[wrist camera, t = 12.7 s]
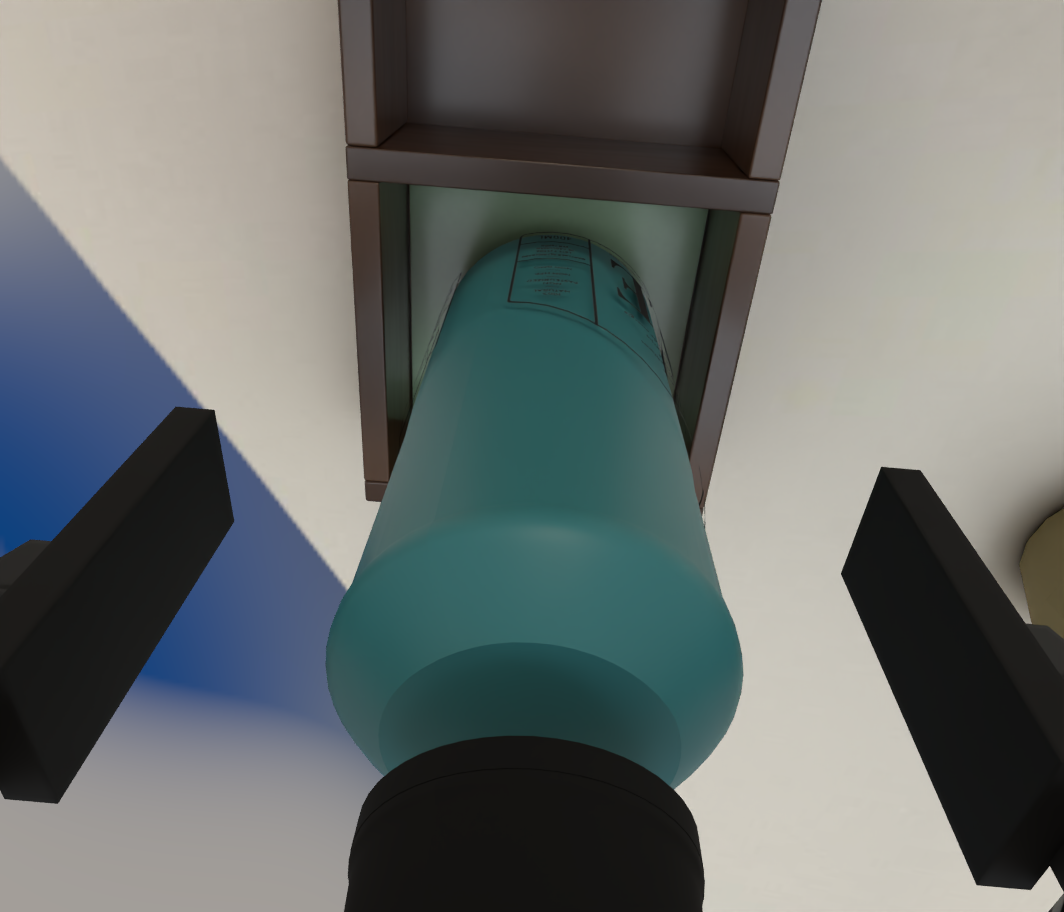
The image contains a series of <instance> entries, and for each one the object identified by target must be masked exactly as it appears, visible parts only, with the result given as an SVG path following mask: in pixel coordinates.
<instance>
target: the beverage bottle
mask: <svg viewBox="0 0 1064 912" xmlns="http://www.w3.org/2000/svg"><path fill="white" fill-rule="evenodd" d="M536 233H559V232H536ZM529 234H534V233H529ZM562 234H568V233H562ZM524 235H527V234H524ZM524 235H522V236H521V237H520V239H517V240H513V241H511V242H508V243H506V244H504V245H501V246H499V247H498V248H496V249H494V250H493V251H491V252H489V253H488V254H487V255H485V256H484V257H483V258H481V259H480V260H479V261H478V262H477V263H476V264H475V265H474V266H473V267H472V268H471V269H470V270H469V271H468V272H467V273H466V275H465V276H464V277H463V279H462V280H461V281H460V283H459V285H458V283H457V285H458V287H457V285H456V288H455V291H454V294H453V296H452V299H451V301H450V304H449V305H448V306H449V307H448V306H447V307H448V309H447V312H446V315H445V318H444V321H443V324H442V326H441V329H440V332H439V329H438V332H437V333H439V335H438V338H437V341H436V344H435V346H434V349H433V352H431V351H430V353H432V355H431V358H430V361H429V363H428V366H427V369H426V372H425V375H424V378H423V381H422V383H421V386H420V389H419V392H418V395H417V398H416V400H415V403H414V406H413V409H412V413H411V416H410V420H409V423H408V427H407V431H406V435H405V438H404V441H403V443H402V446H401V449H400V452H399V453H398V457H397V460H396V463H395V466H394V468H393V471H392V474H391V477H390V480H389V482H388V485H387V488H386V491H385V494H384V496H383V499H382V502H381V505H380V507H379V510H378V513H377V516H376V519H375V521H374V524H373V527H372V530H371V532H370V535H369V538H368V541H367V544H366V546H365V549H364V552H363V555H362V558H361V560H360V563H359V566H358V569H357V571H356V574H355V577H354V580H353V583H352V584H351V586H350V588H349V589H348V591H347V592H346V594H345V595H344V597H343V599H342V601H341V603H340V605H339V608H338V610H337V612H336V615H335V617H334V620H333V623H332V625H331V628H330V632H329V637H328V642H327V646H326V673H327V681H328V689H329V692H330V695H331V698H332V701H333V705H334V707H335V709H336V712H337V714H338V716H339V718H340V720H341V722H342V724H343V725H344V727H345V728H346V730H347V732H348V733H349V734H350V736H351V738H352V739H353V741H354V742H355V743H356V745H357V746H358V747H359V748H360V750H361V751H362V752H363V753H364V755H365V756H366V757H367V758H368V760H369V761H370V762H371V763H372V765H373V766H374V767H375V768H376V769H377V770H378V771H379V772H380V773H381V774H382V775H383V776H384V777H383V778H382V779H381V780H380V781H379V782H378V783H377V784H376V785H375V786H374V788H373V789H372V790H371V791H370V793H369V794H368V796H367V798H366V800H365V802H364V804H363V805H362V809H361V812H360V816H359V819H358V823H357V827H356V831H355V835H354V839H353V843H352V847H351V852H350V857H349V866H348V879H349V886H348V892H347V898H346V904H345V910H344V912H703V911H702V905H703V900H704V885H705V880H704V869H703V863H702V856H701V849H700V843H699V836H698V831H697V826H696V823H695V821H694V818H693V816H692V813H691V812H690V810H689V808H688V807H687V805H686V804H685V802H684V801H683V799H682V798H681V797H680V796H679V795H678V794H677V793H676V792H675V791H674V789H675V788H676V787H677V786H679V785H680V784H681V783H682V782H683V781H684V780H686V779H687V778H688V777H689V776H690V775H691V774H692V773H693V772H694V771H695V770H696V769H697V768H698V767H699V766H700V765H701V764H702V763H703V762H704V761H705V760H706V759H707V758H708V757H709V756H710V755H711V753H712V752H713V751H714V749H715V748H716V747H717V745H718V744H719V742H720V741H721V740H722V738H723V737H724V735H725V734H726V732H727V730H728V728H729V726H730V724H731V722H732V720H733V718H734V715H735V712H736V709H737V705H738V702H739V699H740V695H741V690H742V681H743V662H742V653H741V648H740V643H739V639H738V635H737V631H736V627H735V624H734V622H733V619H732V617H731V615H730V612H729V610H728V608H727V606H726V603H725V601H724V599H723V597H722V593H721V589H720V586H719V582H718V578H717V574H716V570H715V566H714V562H713V558H712V555H711V551H710V547H709V543H708V539H707V535H706V531H705V525H704V524H703V520H702V516H701V512H700V508H699V506H700V504H701V501H702V498H703V494H704V491H703V488H702V491H703V493H702V496H701V500H700V502H699V504H698V500H697V497H696V493H695V488H694V481H693V474H692V470H691V466H690V462H689V458H688V454H687V450H686V446H685V442H684V439H683V435H682V431H681V427H680V424H679V418H678V416H677V413H676V409H675V405H674V402H675V401H674V402H673V400H674V399H673V397H672V394H671V390H670V387H669V383H668V379H667V376H668V375H667V372H666V369H667V368H668V367H667V368H666V366H665V365H666V363H665V361H664V355H665V354H664V355H663V350H662V340H663V337H662V334H661V330H660V331H659V334H661V337H662V340H661V347H660V348H661V353H660V350H659V349H660V348H659V346H660V344H659V346H658V342H657V338H656V335H655V331H654V330H655V329H654V327H653V324H652V320H651V316H650V313H649V309H648V306H647V302H646V299H645V297H644V295H643V293H642V290H641V288H642V287H641V286H640V285H639V283H638V282H637V281H636V280H635V278H634V277H633V276H632V274H631V273H630V272H629V271H632V270H629V271H628V269H627V268H628V267H625V266H624V265H625V264H622V263H621V262H622V261H621V262H620V261H619V259H617V258H615V257H614V255H613V256H612V254H610V253H608V252H607V251H606V250H604V249H602V248H600V247H598V246H596V245H594V244H592V243H591V242H590V241H592V240H590V239H588V242H586V241H584V240H581V239H577V238H573V237H568V236H560V235H536V236H529V237H524V238H522V237H523V236H524ZM570 235H572V234H570ZM574 236H577V235H574ZM578 237H581V236H578ZM582 238H584V237H582ZM585 239H587V238H585ZM593 242H595V241H593ZM596 243H597V242H596ZM598 244H599V243H598ZM600 245H601V244H600ZM602 246H603V245H602ZM604 247H605V246H604ZM605 248H607V247H605ZM607 249H609V248H607ZM609 250H610V249H609ZM611 251H612V250H611ZM612 252H613V251H612ZM613 253H614V252H613ZM615 254H616V253H615ZM616 255H617V254H616ZM619 257H620V256H619ZM620 258H621V257H620ZM628 265H629V264H628ZM629 266H630V265H629ZM630 267H631V266H630ZM631 268H632V267H631ZM634 272H635V271H634ZM635 273H636V272H635ZM461 274H462V273H461ZM461 274H460V276H461ZM633 274H634V273H633ZM634 275H635V274H634ZM635 276H636V275H635ZM638 277H639V276H638ZM457 278H458V277H457ZM457 278H456V279H457ZM639 278H640V277H639ZM459 279H460V277H459ZM638 281H640V280H639V279H638ZM641 281H642V280H641ZM641 281H640V282H641ZM454 282H455V281H454ZM458 282H459V280H458ZM642 283H643V282H642ZM642 285H643V284H642ZM644 286H645V285H644ZM451 287H452V286H451ZM642 289H643V288H642ZM451 290H452V289H451ZM645 290H646V289H645ZM450 293H451V291H450ZM448 295H450V294H448ZM448 295H447V296H448ZM447 296H446V297H447ZM648 296H650V295H649V294H648ZM448 299H449V298H448ZM648 299H649V298H648ZM650 300H651V299H650ZM650 300H649V303H650V306H651V308H652V307H654V306H652V304H651V302H652V301H651V302H650ZM446 301H448V300H447V299H446ZM652 303H653V302H652ZM445 304H446V302H445ZM444 306H445V305H444ZM442 308H443V307H442ZM653 309H654V308H653ZM445 310H446V309H445ZM445 310H444V311H445ZM441 312H443V310H442V311H441ZM440 314H441V313H440ZM655 314H656V313H655ZM440 316H442V315H439V317H440ZM439 317H438V318H439ZM656 318H657V317H656ZM438 321H439V319H438V320H437V322H438ZM438 323H440V321H439V322H438ZM436 325H437V326H438V324H437V323H436ZM657 325H658V324H657ZM658 326H659V325H658ZM435 327H436V326H435ZM436 328H437V327H436ZM434 331H436V329H435V328H434ZM434 331H433V333H434ZM436 336H437V334H436ZM659 336H660V335H659ZM432 337H434V336H432ZM431 339H433V338H431ZM435 339H436V337H435ZM659 339H660V338H659ZM430 341H432V340H430ZM434 341H435V340H434ZM659 341H660V340H659ZM430 343H431V342H430ZM430 343H429V344H430ZM659 343H660V342H659ZM433 344H434V343H433ZM663 344H664V340H663ZM432 347H433V345H432ZM664 347H665V344H664ZM427 348H428V347H427ZM427 350H428V349H427ZM431 350H432V348H431ZM428 351H429V350H428ZM665 351H666V347H665ZM426 352H427V351H426ZM426 354H427V356H428V353H426ZM666 354H667V351H666ZM425 356H426V355H424V357H425ZM429 356H430V354H429ZM665 356H666V355H665ZM426 358H427V357H426ZM426 358H425V359H426ZM428 358H429V357H428ZM428 358H427V361H428ZM666 358H668V354H667V357H666ZM423 360H424V359H423ZM667 360H668V361H669V358H668V359H667ZM422 362H423V361H422ZM425 362H426V361H425ZM422 364H423V363H422ZM424 364H425V363H424ZM426 364H427V362H426ZM667 364H668V363H667ZM668 365H670V361H669V364H668ZM421 366H422V365H421ZM421 366H420V367H421ZM423 366H424V365H423ZM425 367H426V365H425ZM422 368H423V367H422ZM670 368H671V365H670ZM424 369H425V368H424ZM419 370H420V369H419ZM668 370H669V368H668ZM668 370H667V371H668ZM418 372H419V371H418ZM423 372H424V370H423ZM671 372H672V369H671ZM671 372H670V373H669V372H668V373H669V374H671ZM422 375H423V373H422ZM670 376H671V375H670ZM417 377H418V376H417ZM668 377H669V376H668ZM672 377H674V376H673V373H672V376H671V378H672ZM421 378H422V376H421ZM672 379H673V378H672ZM674 379H675V378H674ZM416 380H417V379H416ZM420 380H421V379H420ZM670 381H671V380H670ZM674 382H675V381H674ZM674 382H673V383H674ZM419 383H420V382H419ZM673 383H672V384H673ZM414 384H415V382H414ZM675 384H676V383H675ZM418 386H419V384H418ZM673 386H674V384H673ZM413 387H414V386H413ZM676 387H677V386H676ZM412 389H413V388H412ZM417 389H418V387H417ZM412 391H413V390H412ZM676 391H677V390H676ZM416 392H417V390H416ZM677 392H678V391H677ZM410 394H411V393H410ZM415 394H416V393H415ZM677 394H678V393H677ZM411 395H412V394H411ZM678 396H680V395H678ZM414 397H415V395H414ZM408 399H409V398H408ZM679 399H680V398H679ZM413 400H414V398H413ZM412 403H413V401H412ZM675 404H676V403H675ZM678 404H679V400H678ZM411 406H412V404H411ZM411 406H410V408H411ZM676 406H677V405H676ZM677 407H679V405H678V406H677ZM680 407H681V405H680ZM405 410H406V409H405ZM678 410H679V408H678ZM409 411H410V409H409ZM679 411H680V410H679ZM679 411H678V412H679ZM683 412H684V411H683ZM680 413H681V412H680ZM408 414H409V412H408ZM684 414H685V413H684ZM681 415H682V414H681ZM403 417H404V416H403ZM407 417H408V415H407ZM682 417H683V416H682ZM406 419H407V418H406ZM683 419H684V422H685V418H683ZM402 422H403V420H402ZM405 422H406V420H405ZM404 425H405V423H404ZM686 426H687V425H686ZM401 428H402V426H401ZM403 428H404V426H403ZM402 431H403V429H402ZM402 431H401V432H400V436H401V433H402ZM688 431H689V430H688ZM685 434H686V432H685ZM689 434H690V433H689ZM691 439H692V438H691ZM692 442H693V441H692ZM399 446H400V438H399ZM694 449H695V448H694ZM699 469H700V468H699ZM700 476H701V474H700ZM701 483H702V481H701ZM704 510H705V499H704Z"/></svg>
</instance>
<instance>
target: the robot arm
mask: <svg viewBox="0 0 1064 912" xmlns="http://www.w3.org/2000/svg"><path fill="white" fill-rule="evenodd" d="M233 522H234V517H233V512H232V506H231V501H230V495H229V489H228V483H227V478H226V472H225V467H224V461H223V455H222V451H221V444H220V439H219V433H218V427H217V421H216V416H215V410H209V409H197V408H184V407H175V408H174V409H173V410H172V411H171V412H170V413H169V415H168V416H167V417H166V418H165V419H164V420H163V421H162V422H161V423H160V424H159V425H158V427H157V428H156V429H155V430H154V431H153V432H152V433H151V434H150V435H149V436H148V437H147V439H146V440H145V441H144V442H143V443H142V444H141V445H140V446H139V447H138V448H137V449H136V450H135V451H134V453H133V454H132V455H131V456H130V457H129V458H128V459H127V460H126V461H125V462H124V463H123V464H122V466H121V467H120V468H119V469H118V470H117V471H116V472H115V473H114V474H113V475H112V476H111V477H110V479H109V480H108V481H107V482H106V483H105V484H104V485H103V486H102V487H101V488H100V489H99V490H98V492H97V493H96V494H95V495H94V496H93V497H92V498H91V499H90V500H89V501H88V502H87V504H86V505H85V506H84V507H83V508H82V509H81V510H80V511H79V512H78V513H77V514H76V515H75V516H74V518H73V519H72V520H71V521H70V522H69V523H68V524H67V525H66V526H65V527H64V528H63V530H62V531H61V532H60V533H59V534H58V535H57V536H56V537H55V538H54V539H53V540H52V541H41V540H29V541H27V542H26V543H24V544H22V545H20V546H19V547H17V548H15V549H14V550H13V551H11V552H9V553H7V554H5V555H4V556H2V557H0V791H1V793H2V795H3V797H4V799H10V800H22V801H33V802H45V803H55V804H58V802H59V801H60V799H61V798H62V796H63V795H64V793H65V792H66V790H67V788H68V787H69V785H70V783H71V782H72V780H73V779H74V777H75V776H76V774H77V772H78V771H79V769H80V768H81V766H82V764H83V763H84V761H85V759H86V758H87V756H88V755H89V753H90V751H91V750H92V748H93V747H94V745H95V744H96V742H97V740H98V739H99V737H100V735H101V734H102V732H103V731H104V729H105V727H106V726H107V724H108V723H109V721H110V719H111V718H112V716H113V715H114V713H115V711H116V710H117V708H118V707H119V705H120V703H121V702H122V700H123V699H124V697H125V695H126V694H127V692H128V691H129V689H130V687H131V686H132V684H133V683H134V681H135V679H136V678H137V676H138V675H139V673H140V671H141V670H142V668H143V666H144V665H145V663H146V662H147V660H148V659H149V657H150V655H151V654H152V652H153V651H154V649H155V647H156V646H157V644H158V643H159V641H160V639H161V638H162V636H163V635H164V633H165V631H166V630H167V628H168V627H169V625H170V623H171V622H172V620H173V618H174V617H175V615H176V614H177V612H178V611H179V609H180V607H181V606H182V604H183V603H184V601H185V599H186V598H187V596H188V595H189V593H190V591H191V590H192V588H193V587H194V585H195V583H196V582H197V580H198V578H199V577H200V575H201V574H202V572H203V570H204V569H205V567H206V566H207V564H208V562H209V561H210V559H211V558H212V556H213V555H214V553H215V551H216V550H217V548H218V547H219V545H220V543H221V542H222V540H223V538H224V537H225V535H226V534H227V532H228V531H229V529H230V527H231V526H232V524H233ZM841 575H842V577H843V580H844V582H845V584H846V586H847V589H848V591H849V593H850V596H851V598H852V600H853V602H854V605H855V607H856V609H857V612H858V614H859V616H860V619H861V621H862V623H863V625H864V628H865V630H866V632H867V635H868V637H869V639H870V641H871V644H872V646H873V648H874V651H875V653H876V655H877V658H878V660H879V662H880V664H881V667H882V669H883V671H884V674H885V676H886V678H887V680H888V683H889V685H890V687H891V690H892V692H893V694H894V697H895V699H896V701H897V703H898V706H899V708H900V710H901V713H902V715H903V717H904V719H905V722H906V724H907V726H908V729H909V731H910V733H911V736H912V738H913V740H914V742H915V745H916V747H917V749H918V752H919V754H920V756H921V758H922V761H923V763H924V765H925V768H926V770H927V772H928V775H929V777H930V779H931V781H932V784H933V786H934V788H935V791H936V793H937V795H938V797H939V800H940V802H941V804H942V807H943V809H944V811H945V814H946V816H947V818H948V820H949V823H950V825H951V827H952V830H953V832H954V834H955V836H956V839H957V841H958V843H959V846H960V848H961V850H962V853H963V855H964V857H965V859H966V862H967V864H968V866H969V869H970V871H971V873H972V876H973V878H974V880H975V882H976V885H981V886H992V887H1003V888H1014V889H1026V890H1031V889H1032V888H1033V886H1034V885H1035V884H1036V883H1037V881H1038V880H1039V879H1040V878H1041V876H1042V875H1043V874H1044V872H1045V871H1046V870H1047V869H1048V867H1049V866H1050V867H1051V869H1052V871H1053V872H1054V874H1055V876H1056V878H1057V880H1058V882H1059V884H1060V886H1061V888H1062V890H1063V891H1064V639H1063V638H1062V637H1061V636H1059V635H1058V634H1057V633H1056V632H1055V631H1053V630H1052V629H1051V628H1050V627H1048V626H1046V625H1034V624H1025V622H1024V621H1023V619H1022V618H1021V616H1020V615H1019V613H1018V612H1017V611H1016V609H1015V608H1014V606H1013V605H1012V603H1011V602H1010V600H1009V599H1008V597H1007V596H1006V594H1005V593H1004V592H1003V590H1002V589H1001V587H1000V586H999V584H998V583H997V581H996V580H995V578H994V577H993V576H992V574H991V573H990V571H989V570H988V568H987V567H986V565H985V564H984V562H983V561H982V559H981V558H980V557H979V555H978V554H977V552H976V551H975V549H974V548H973V546H972V545H971V543H970V542H969V540H968V539H967V538H966V536H965V535H964V533H963V532H962V530H961V529H960V527H959V526H958V524H957V523H956V521H955V520H954V519H953V517H952V516H951V514H950V513H949V511H948V510H947V508H946V507H945V505H944V504H943V503H942V501H941V500H940V498H939V497H938V495H937V494H936V492H935V491H934V489H933V488H932V486H931V485H930V484H929V482H928V481H927V479H926V478H925V476H924V475H923V473H922V472H921V470H911V469H899V468H888V467H881V469H880V472H879V474H878V477H877V480H876V482H875V485H874V488H873V490H872V493H871V496H870V498H869V501H868V503H867V506H866V509H865V511H864V514H863V517H862V519H861V522H860V525H859V527H858V530H857V533H856V535H855V538H854V541H853V543H852V546H851V548H850V551H849V554H848V556H847V559H846V562H845V564H844V567H843V570H842V572H841ZM1049 912H1064V894H1063V895H1062V896H1061V897H1060V898H1059V900H1058V901H1057V902H1056V903H1055V904H1054V906H1053V907H1052V908H1051V909H1050V910H1049Z"/></svg>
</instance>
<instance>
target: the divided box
mask: <svg viewBox="0 0 1064 912" xmlns="http://www.w3.org/2000/svg"><path fill="white" fill-rule="evenodd" d="M821 2H822V0H338V15H339V33H340V51H341V69H342V86H343V104H344V122H345V140H346V144H348V145H347V146H346V164H347V178H348V179H349V180H348V198H349V216H350V233H351V251H352V269H353V287H354V305H355V322H356V340H357V358H358V376H359V393H360V411H361V429H362V447H363V465H364V479H365V495H366V500H367V501H376V502H382V499H383V496H384V494H385V491H386V488H387V485H388V482H389V480H390V477H391V474H392V471H393V468H394V466H395V463H396V460H397V457H398V453H399V452H400V449H401V446H402V443H403V441H404V438H405V435H406V431H407V427H408V423H409V420H410V416H411V413H412V409H413V406H414V403H415V400H416V398H417V395H418V392H419V389H420V386H421V383H422V381H423V378H424V375H425V372H426V369H427V366H428V363H429V361H430V358H431V355H432V353H430V351H431V352H433V349H434V346H435V344H436V341H437V338H438V335H439V333H437V332H438V329H439V332H440V329H441V326H442V324H443V321H444V318H445V315H446V312H447V309H448V307H449V306H448V305H449V304H450V301H451V299H452V296H453V294H454V291H455V288H456V285H457V283H458V285H459V283H460V281H461V280H462V279H463V277H464V276H465V275H466V273H467V272H468V271H469V270H470V269H471V268H472V267H473V266H474V265H475V264H476V263H477V262H478V261H479V260H480V259H481V258H483V257H484V256H485V255H487V254H488V253H489V252H491V251H493V250H494V249H496V248H498V247H499V246H501V245H504V244H506V243H508V242H511V241H513V240H517V239H520V237H521V236H522V235H524V234H527V235H524V236H523V237H522V238H524V237H529V236H536V235H560V236H568V237H573V238H577V239H581V240H584V241H586V242H588V239H590V240H592V241H590V242H591V243H592V244H594V245H596V246H598V247H600V248H602V249H604V250H606V251H607V252H608V253H610V254H612V256H613V255H614V257H615V258H617V259H619V261H620V262H621V261H622V262H621V263H622V264H625V265H624V266H625V267H628V268H627V269H628V271H629V270H632V271H629V272H630V273H631V274H632V276H633V277H634V278H635V280H636V281H637V282H638V283H639V285H640V286H641V287H642V288H643V289H642V288H641V290H642V293H643V295H644V297H645V299H646V302H647V306H648V309H649V313H650V316H651V320H652V324H653V327H654V329H655V330H654V331H655V335H656V338H657V342H658V346H659V344H660V346H659V348H660V347H661V340H662V337H663V340H664V344H665V347H666V351H667V354H668V358H669V361H670V365H671V368H670V365H668V364H669V361H668V360H667V359H668V358H666V357H667V354H666V351H665V347H664V344H663V340H662V350H663V355H664V354H665V355H666V356H665V355H664V361H665V363H666V365H665V366H666V368H667V367H668V368H669V370H668V368H667V369H666V372H667V375H668V376H669V377H668V376H667V379H668V383H669V387H670V390H671V394H672V397H673V399H674V400H673V402H674V401H675V402H674V405H675V409H676V413H677V416H678V418H679V424H680V427H681V431H682V435H683V439H684V442H685V446H686V450H687V454H688V458H689V462H690V466H691V470H692V474H693V481H694V488H695V493H696V497H697V500H698V504H699V502H700V500H701V496H702V493H703V491H704V494H703V498H702V501H701V504H700V506H699V508H700V512H701V516H702V514H703V507H704V499H705V501H706V497H707V493H708V488H709V484H710V480H711V475H712V471H713V467H714V463H715V458H716V454H717V450H718V445H719V441H720V437H721V432H722V428H723V424H724V419H725V415H726V411H727V407H728V402H729V398H730V394H731V389H732V385H733V381H734V376H735V372H736V368H737V363H738V359H739V355H740V350H741V346H742V342H743V338H744V333H745V329H746V325H747V320H748V316H749V312H750V307H751V303H752V299H753V294H754V290H755V286H756V282H757V277H758V273H759V269H760V264H761V260H762V256H763V251H764V247H765V243H766V238H767V234H768V230H769V226H770V221H771V215H770V214H772V213H773V209H774V205H775V201H776V197H777V192H778V188H779V184H780V183H779V181H778V180H780V178H781V174H782V170H783V166H784V161H785V157H786V153H787V148H788V144H789V140H790V136H791V131H792V127H793V123H794V118H795V114H796V110H797V105H798V101H799V97H800V92H801V88H802V84H803V80H804V75H805V71H806V67H807V62H808V58H809V54H810V49H811V45H812V41H813V36H814V32H815V28H816V24H817V19H818V15H819V11H820V6H821ZM536 232H559V233H536ZM529 233H534V234H529ZM562 233H568V234H562ZM570 234H572V235H570ZM574 235H577V236H574ZM578 236H581V237H578ZM582 237H584V238H582ZM585 238H587V239H585ZM593 241H595V242H593ZM596 242H597V243H596ZM598 243H599V244H598ZM600 244H601V245H600ZM602 245H603V246H602ZM604 246H605V247H607V248H609V249H610V250H609V249H607V248H605V247H604ZM611 250H612V251H613V252H614V253H613V252H612V251H611ZM615 253H616V254H617V255H616V254H615ZM619 256H620V257H621V258H620V257H619ZM628 264H629V265H630V266H631V267H632V268H631V267H630V266H629V265H628ZM634 271H635V272H636V273H635V272H634ZM461 273H462V274H461ZM633 273H634V274H635V275H636V276H635V275H634V274H633ZM460 274H461V276H460ZM638 276H639V277H640V278H639V277H638ZM457 277H458V278H457ZM459 277H460V279H459ZM456 278H457V279H456ZM638 279H639V280H640V281H641V280H642V281H641V282H640V281H638ZM458 280H459V282H458ZM454 281H455V282H454ZM642 282H643V283H642ZM642 284H643V285H642ZM458 285H457V287H458ZM644 285H645V286H644ZM451 286H452V287H451ZM451 289H452V290H451ZM645 289H646V290H645ZM450 291H451V293H450ZM448 294H450V295H448ZM648 294H649V295H650V296H648ZM447 295H448V296H447ZM446 296H447V297H446ZM448 298H449V299H448ZM648 298H649V299H648ZM446 299H447V300H448V301H446ZM650 299H651V300H650ZM649 300H650V302H651V301H652V302H653V303H652V302H651V304H652V306H654V307H652V308H651V306H650V303H649ZM445 302H446V304H445ZM444 305H445V306H444ZM447 306H448V307H447ZM442 307H443V308H442ZM653 308H654V309H653ZM445 309H446V310H445ZM442 310H443V312H441V311H442ZM444 310H445V311H444ZM440 313H441V314H440ZM655 313H656V314H655ZM439 315H442V316H440V317H439ZM438 317H439V318H438ZM656 317H657V318H656ZM438 319H439V321H440V323H438V322H439V321H438V322H437V320H438ZM436 323H437V324H438V326H437V325H436ZM657 324H658V325H659V326H658V325H657ZM435 326H436V327H437V328H436V327H435ZM434 328H435V329H436V331H434ZM660 330H661V334H662V337H661V334H659V331H660ZM433 331H434V333H433ZM436 334H437V336H436ZM659 335H660V336H659ZM432 336H434V337H432ZM435 337H436V339H435ZM431 338H433V339H431ZM659 338H660V339H659ZM430 340H432V341H430ZM434 340H435V341H434ZM659 340H660V341H659ZM430 342H431V343H430ZM659 342H660V343H659ZM429 343H430V344H429ZM433 343H434V344H433ZM432 345H433V347H432ZM427 347H428V348H427ZM431 348H432V350H431ZM427 349H428V350H429V351H428V350H427ZM659 350H660V353H661V348H660V349H659ZM426 351H427V352H426ZM426 353H428V356H427V354H426ZM429 354H430V356H429ZM424 355H426V356H425V357H424ZM426 357H427V358H428V357H429V358H428V361H427V358H426ZM425 358H426V359H425ZM423 359H424V360H423ZM422 361H423V362H422ZM425 361H426V362H427V364H426V362H425ZM422 363H423V364H422ZM424 363H425V364H424ZM667 363H668V364H667ZM421 365H422V366H421ZM423 365H424V366H423ZM425 365H426V367H425ZM420 366H421V367H420ZM422 367H423V368H422ZM424 368H425V369H424ZM419 369H420V370H419ZM671 369H672V372H671ZM423 370H424V372H423ZM667 370H668V371H667ZM418 371H419V372H418ZM668 372H669V373H670V372H671V374H669V373H668ZM422 373H423V375H422ZM672 373H673V376H674V377H672V378H673V379H672V378H671V376H672ZM670 375H671V376H670ZM417 376H418V377H417ZM421 376H422V378H421ZM674 378H675V379H674ZM416 379H417V380H416ZM420 379H421V380H420ZM670 380H671V381H670ZM674 381H675V382H674ZM414 382H415V384H414ZM419 382H420V383H419ZM673 382H674V383H673ZM672 383H673V384H674V386H673V384H672ZM675 383H676V384H675ZM418 384H419V386H418ZM413 386H414V387H413ZM676 386H677V387H676ZM417 387H418V389H417ZM412 388H413V389H412ZM412 390H413V391H412ZM416 390H417V392H416ZM676 390H677V391H678V392H677V391H676ZM410 393H411V394H412V395H411V394H410ZM415 393H416V394H415ZM677 393H678V394H677ZM414 395H415V397H414ZM678 395H680V396H678ZM408 398H409V399H408ZM413 398H414V400H413ZM679 398H680V399H679ZM678 400H679V404H678ZM412 401H413V403H412ZM675 403H676V404H675ZM411 404H412V406H411ZM676 405H677V406H678V405H679V407H677V406H676ZM680 405H681V407H680ZM410 406H411V408H410ZM678 408H679V410H680V411H679V410H678ZM405 409H406V410H405ZM409 409H410V411H409ZM678 411H679V412H678ZM683 411H684V412H683ZM408 412H409V414H408ZM680 412H681V413H680ZM684 413H685V414H684ZM681 414H682V415H681ZM407 415H408V417H407ZM403 416H404V417H403ZM682 416H683V417H682ZM406 418H407V419H406ZM683 418H685V422H684V419H683ZM402 420H403V422H402ZM405 420H406V422H405ZM404 423H405V425H404ZM686 425H687V426H686ZM401 426H402V428H401ZM403 426H404V428H403ZM402 429H403V431H402ZM688 430H689V431H688ZM401 431H402V433H401V436H400V432H401ZM685 432H686V434H685ZM689 433H690V434H689ZM399 438H400V446H399ZM691 438H692V439H691ZM692 441H693V442H692ZM694 448H695V449H694ZM699 468H700V469H699ZM700 474H701V476H700ZM701 481H702V483H701ZM702 488H703V491H702Z"/></svg>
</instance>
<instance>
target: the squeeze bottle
mask: <svg viewBox="0 0 1064 912" xmlns="http://www.w3.org/2000/svg"><path fill="white" fill-rule="evenodd" d="M1019 566H1020V571H1021V575H1022V580H1023V585H1024V589H1025V594H1026V599H1027V604H1028V608H1029V613H1030V618H1031V622H1032V624H1034V625H1046V626H1048V627H1050V628H1051V629H1052V630H1053V631H1055V632H1056V633H1057V634H1058V635H1059V636H1061V637H1062V638H1063V639H1064V508H1063V509H1062V510H1060V511H1059V512H1057V513H1055V514H1054V515H1052V516H1051V517H1049V518H1047V519H1046V520H1045V521H1044V523H1043V524H1042V525H1041V526H1040V527H1039V528H1038V530H1037V531H1036V532H1035V533H1034V534H1033V535H1032V536H1031V538H1030V539H1029V540H1028V541H1027V543H1026V546H1025V549H1024V552H1023V555H1022V558H1021V561H1020V564H1019Z"/></svg>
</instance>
